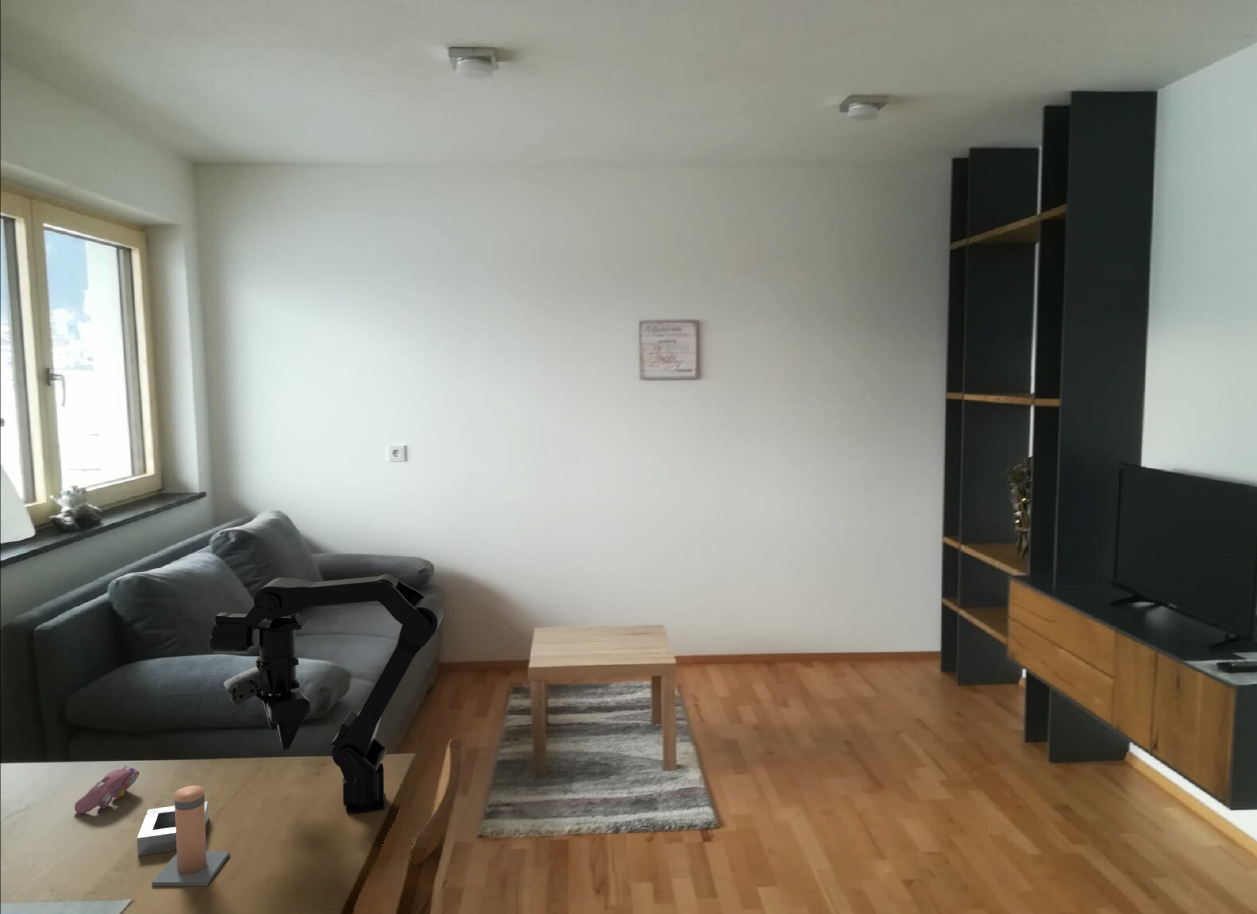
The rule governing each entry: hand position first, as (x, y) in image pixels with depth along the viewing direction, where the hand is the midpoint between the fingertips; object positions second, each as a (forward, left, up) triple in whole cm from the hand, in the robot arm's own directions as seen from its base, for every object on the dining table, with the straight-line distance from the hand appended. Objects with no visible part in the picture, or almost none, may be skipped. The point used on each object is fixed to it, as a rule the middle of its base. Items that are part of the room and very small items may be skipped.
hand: (279, 738), depth 151 cm
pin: (+12, +17, -11) cm, 24 cm away
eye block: (+16, +6, -12) cm, 21 cm away
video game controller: (+28, -9, -12) cm, 32 cm away
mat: (+12, +17, -12) cm, 24 cm away
